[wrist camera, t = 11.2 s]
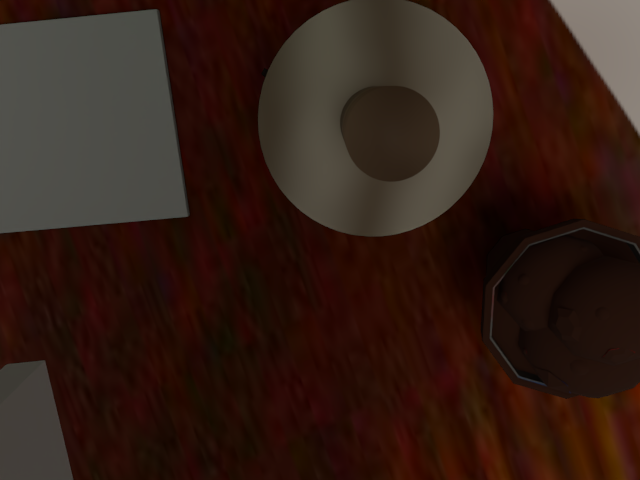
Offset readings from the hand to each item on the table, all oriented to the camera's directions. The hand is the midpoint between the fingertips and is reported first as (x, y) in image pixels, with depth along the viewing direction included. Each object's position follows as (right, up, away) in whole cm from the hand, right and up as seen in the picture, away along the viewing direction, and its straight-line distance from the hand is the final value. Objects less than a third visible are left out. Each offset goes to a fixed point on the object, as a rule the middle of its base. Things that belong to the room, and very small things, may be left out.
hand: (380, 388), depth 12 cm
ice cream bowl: (+14, +1, +32) cm, 35 cm away
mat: (-18, +11, +30) cm, 37 cm away
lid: (+2, +9, +20) cm, 22 cm away
